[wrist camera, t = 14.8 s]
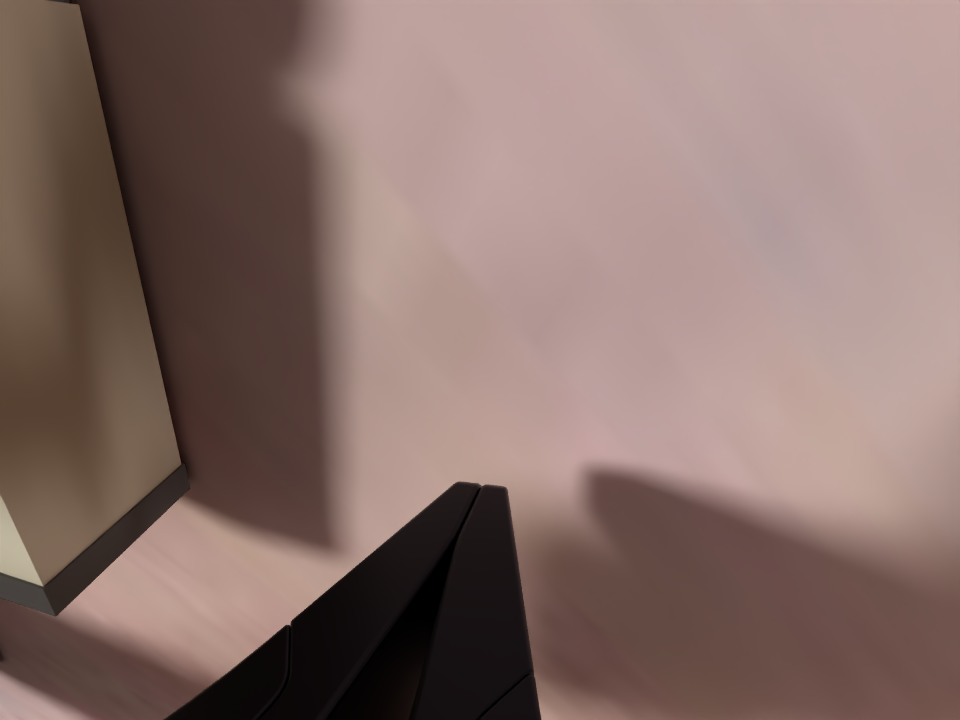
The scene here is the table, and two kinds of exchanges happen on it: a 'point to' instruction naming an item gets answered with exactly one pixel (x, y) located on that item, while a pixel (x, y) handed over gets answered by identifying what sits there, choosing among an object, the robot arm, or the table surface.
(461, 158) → the table surface
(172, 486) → the leg
